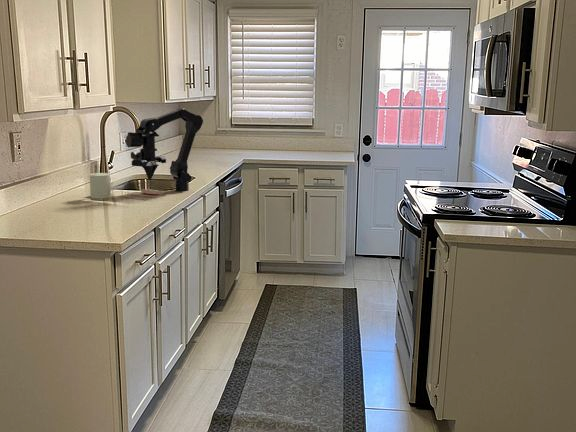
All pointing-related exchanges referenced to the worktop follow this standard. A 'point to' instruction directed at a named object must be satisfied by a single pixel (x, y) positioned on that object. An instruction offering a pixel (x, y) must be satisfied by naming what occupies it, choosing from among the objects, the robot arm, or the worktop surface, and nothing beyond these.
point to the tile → (152, 191)
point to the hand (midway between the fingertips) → (149, 179)
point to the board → (141, 196)
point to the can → (100, 186)
